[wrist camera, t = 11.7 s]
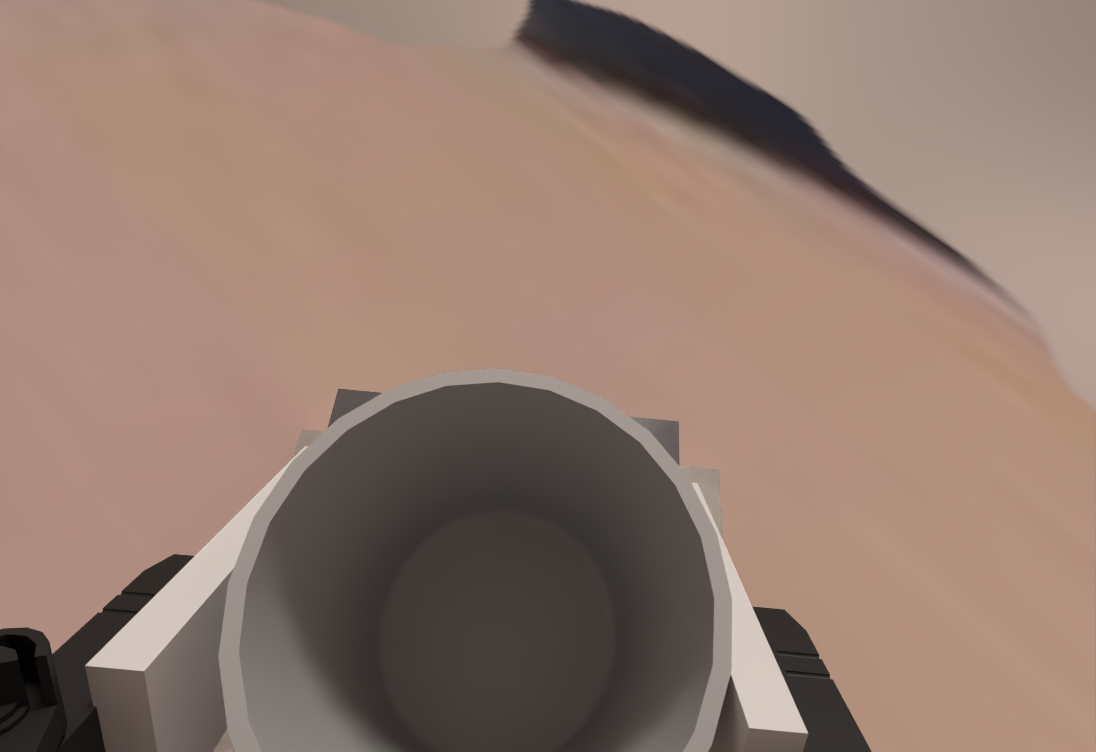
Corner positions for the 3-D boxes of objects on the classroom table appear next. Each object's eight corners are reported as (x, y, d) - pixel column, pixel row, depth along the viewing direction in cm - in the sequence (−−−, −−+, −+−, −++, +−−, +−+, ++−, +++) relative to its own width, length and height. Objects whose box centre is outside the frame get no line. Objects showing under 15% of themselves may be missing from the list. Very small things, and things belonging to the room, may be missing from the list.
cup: (679, 633, 16) (832, 602, 8) (392, 968, 13) (197, 1441, 5) (509, 454, 19) (504, 295, 11) (223, 702, 15) (-98, 740, 7)
